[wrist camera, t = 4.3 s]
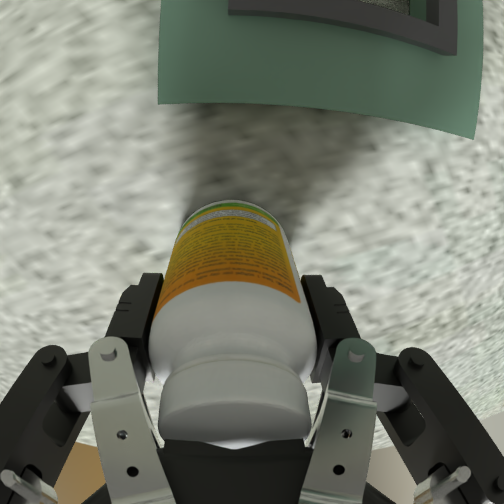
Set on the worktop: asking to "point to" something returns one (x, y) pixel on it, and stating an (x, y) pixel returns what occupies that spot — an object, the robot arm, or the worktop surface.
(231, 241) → the supplement bottle
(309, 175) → the worktop surface
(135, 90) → the worktop surface
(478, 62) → the socket board
